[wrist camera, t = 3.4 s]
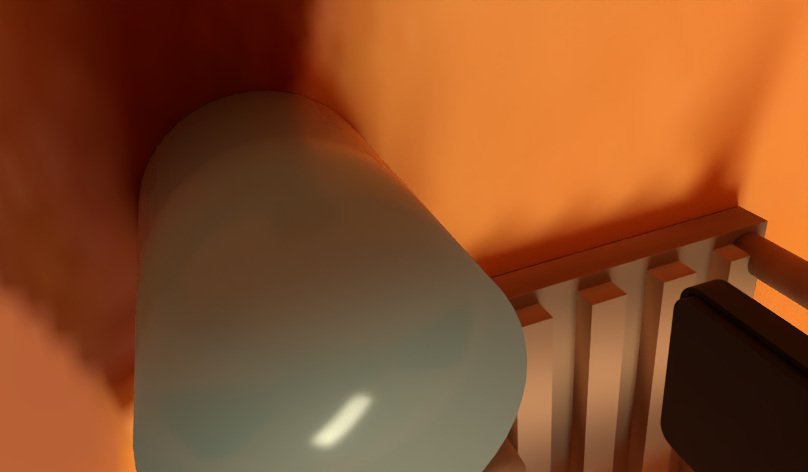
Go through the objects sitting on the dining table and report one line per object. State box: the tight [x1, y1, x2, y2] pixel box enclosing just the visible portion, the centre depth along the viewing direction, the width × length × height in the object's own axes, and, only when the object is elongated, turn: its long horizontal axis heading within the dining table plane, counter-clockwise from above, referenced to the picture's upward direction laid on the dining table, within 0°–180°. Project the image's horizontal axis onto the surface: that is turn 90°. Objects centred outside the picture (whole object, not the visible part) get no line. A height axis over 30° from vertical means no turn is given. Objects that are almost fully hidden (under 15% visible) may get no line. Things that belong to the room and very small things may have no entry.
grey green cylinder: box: [133, 91, 527, 472], centre depth 13 cm, size 6×6×8 cm
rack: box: [482, 206, 808, 472], centre depth 21 cm, size 12×13×6 cm
